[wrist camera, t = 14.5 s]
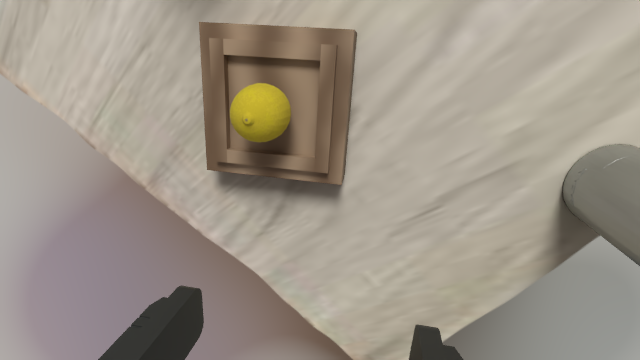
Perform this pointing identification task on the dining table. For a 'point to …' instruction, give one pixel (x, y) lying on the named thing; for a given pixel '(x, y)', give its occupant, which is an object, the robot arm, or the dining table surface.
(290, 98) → the brown wooden crate
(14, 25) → the dining table surface
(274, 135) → the lemon
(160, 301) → the robot arm
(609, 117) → the dining table surface
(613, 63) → the dining table surface
